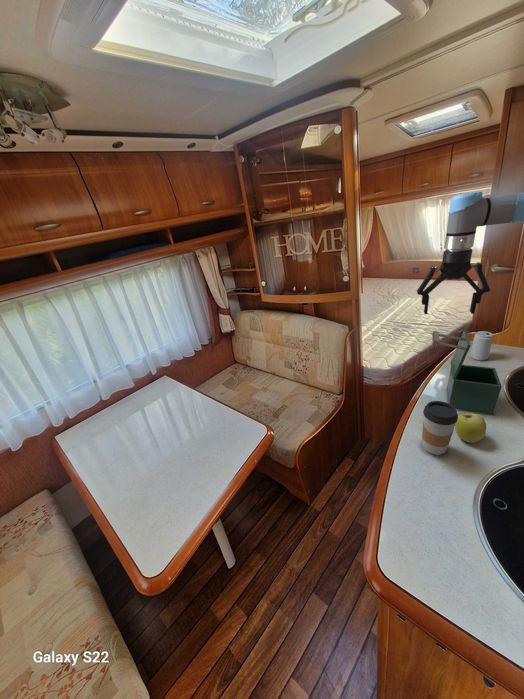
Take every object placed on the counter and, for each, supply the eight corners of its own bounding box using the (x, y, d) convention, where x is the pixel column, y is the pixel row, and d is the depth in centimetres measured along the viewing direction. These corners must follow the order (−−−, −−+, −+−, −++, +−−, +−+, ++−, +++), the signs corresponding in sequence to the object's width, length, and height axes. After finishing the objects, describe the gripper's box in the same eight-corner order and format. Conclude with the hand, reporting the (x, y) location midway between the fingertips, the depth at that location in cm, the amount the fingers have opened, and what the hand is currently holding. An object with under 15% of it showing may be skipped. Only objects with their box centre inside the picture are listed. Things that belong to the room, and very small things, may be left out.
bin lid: (466, 330, 93) (434, 324, 97) (470, 345, 85) (435, 338, 89) (453, 362, 100) (423, 356, 104) (455, 379, 91) (422, 371, 95)
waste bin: (487, 395, 100) (495, 368, 95) (493, 415, 91) (501, 386, 86) (446, 389, 106) (451, 363, 101) (448, 407, 97) (453, 380, 92)
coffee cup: (419, 434, 88) (424, 397, 82) (449, 441, 84) (458, 403, 78) (417, 453, 82) (423, 414, 76) (450, 461, 78) (460, 422, 71)
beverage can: (490, 361, 118) (497, 336, 113) (474, 361, 120) (479, 337, 114) (483, 354, 124) (488, 330, 118) (467, 354, 125) (472, 331, 120)
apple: (494, 443, 80) (490, 419, 76) (464, 449, 83) (458, 425, 79) (479, 425, 87) (475, 401, 83) (452, 430, 89) (446, 408, 86)
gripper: (413, 255, 87) (408, 316, 96) (513, 246, 77) (496, 316, 86) (412, 251, 93) (407, 309, 102) (504, 242, 83) (489, 308, 92)
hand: (448, 312), depth 94 cm, fingers open, 13 cm apart
